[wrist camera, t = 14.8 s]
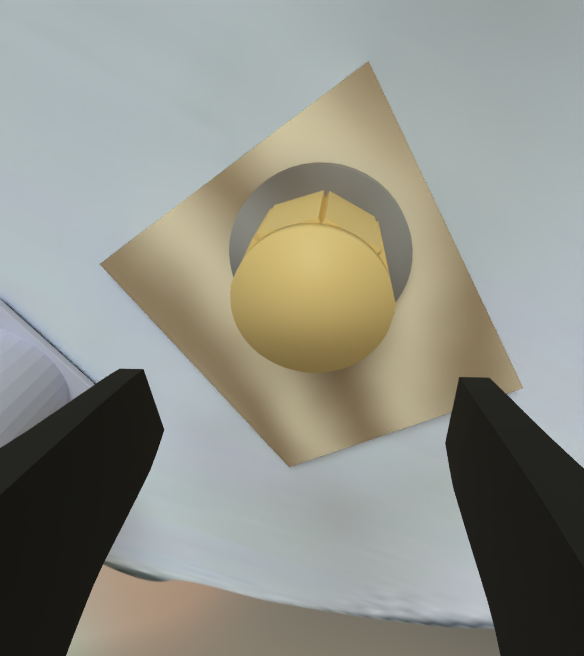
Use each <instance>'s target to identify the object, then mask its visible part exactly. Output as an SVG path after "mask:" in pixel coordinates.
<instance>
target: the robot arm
mask: <svg viewBox="0 0 584 656" xmlns="http://www.w3.org/2000/svg"><path fill="white" fill-rule="evenodd" d="M163 432H164V428H163V425H162V422H161V419H160V416H159V413H158V410H157V407H156V404H155V401H154V398H153V396H152V393H151V390H150V387H149V384H148V381H147V378H146V375H145V372H144V369H119V370H117V371H115V372H114V373H112V374H110V375H109V376H107V377H106V378H104V379H102V380H101V381H99V382H98V383H96V384H94V383H93V382H92V381H91V380H89V379H88V378H87V377H86V376H85V375H84V374H83V373H82V372H81V371H79V370H78V369H77V368H76V367H75V366H74V365H73V364H72V363H71V362H69V361H68V360H67V359H66V358H65V357H64V356H63V355H62V354H61V353H59V352H58V351H57V350H56V349H55V348H54V347H53V346H52V345H51V344H49V343H48V342H47V341H46V340H45V339H44V338H43V337H42V336H41V335H39V334H38V333H37V332H36V331H35V330H34V329H33V328H32V327H31V326H29V325H28V324H27V323H26V322H25V321H24V320H23V319H22V318H21V317H19V316H18V315H17V314H16V313H15V312H14V311H13V310H12V309H11V308H9V307H8V306H7V305H6V304H5V303H4V302H3V301H2V300H0V656H66V654H67V651H68V648H69V646H70V643H71V641H72V638H73V635H74V633H75V630H76V628H77V625H78V623H79V620H80V618H81V615H82V613H83V610H84V608H85V605H86V602H87V600H88V597H89V595H90V592H91V590H92V587H93V585H94V583H95V581H96V579H97V576H98V574H99V572H100V570H101V568H102V565H103V563H104V561H105V559H106V557H107V555H108V553H109V551H110V549H111V547H112V545H113V543H114V541H115V539H116V537H117V536H118V534H119V532H120V530H121V528H122V526H123V524H124V522H125V520H126V518H127V516H128V514H129V512H130V510H131V508H132V506H133V504H134V502H135V500H136V498H137V496H138V494H139V492H140V490H141V488H142V486H143V484H144V482H145V480H146V478H147V476H148V473H149V471H150V469H151V467H152V464H153V461H154V459H155V456H156V453H157V450H158V447H159V444H160V441H161V438H162V435H163ZM445 444H446V450H447V456H448V462H449V468H450V473H451V478H452V484H453V488H454V492H455V495H456V499H457V502H458V505H459V509H460V512H461V515H462V519H463V522H464V525H465V529H466V532H467V535H468V539H469V542H470V545H471V548H472V552H473V555H474V558H475V561H476V565H477V568H478V571H479V575H480V578H481V581H482V584H483V588H484V591H485V594H486V597H487V601H488V605H489V608H490V612H491V616H492V620H493V623H494V627H495V631H496V636H497V641H498V646H499V650H500V654H501V656H584V468H583V467H582V466H581V465H579V464H578V463H577V462H576V461H575V460H574V459H573V458H572V457H571V456H570V455H569V454H567V453H566V452H565V451H564V450H563V449H562V448H561V447H560V446H559V445H558V444H557V443H556V442H555V441H554V440H552V439H551V438H550V437H549V436H548V435H547V434H546V433H545V432H544V431H543V430H542V429H541V428H540V427H539V426H538V425H537V424H536V423H535V422H534V421H533V420H532V419H531V418H530V417H529V416H528V415H527V414H526V413H525V412H524V411H523V410H522V409H521V408H520V407H519V406H518V405H517V404H516V403H515V402H514V401H513V400H512V399H511V398H510V397H509V396H508V395H507V394H506V393H505V392H504V391H503V390H502V389H501V388H500V387H499V386H498V385H497V384H496V383H495V382H493V381H492V380H491V379H490V378H485V377H459V380H458V385H457V390H456V394H455V399H454V404H453V409H452V414H451V418H450V423H449V428H448V433H447V437H446V442H445Z"/></svg>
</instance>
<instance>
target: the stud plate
mask: <svg viewBox="0 0 584 656" xmlns="http://www.w3.org/2000/svg"><path fill="white" fill-rule="evenodd" d="M323 190H324V192H325V196H326V197H327V195H328V193H329V191H331V192H333V193H334V194H336V195H338V196H340V197H341V198H343V199H345V200H347V201H348V202H350V203H352V204H354V205H355V206H357V207H359V208H361V209H362V210H364V211H366V212H368V213H369V214H371V215H373V216H375V219H376V222H377V221H378V222H379V227H380V232H381V236H382V241H383V246H384V250H385V255H386V260H387V265H388V269H389V274H390V279H391V284H392V289H393V294H394V298H395V303H396V309H394V311H395V315H394V316H393V318H392V322H391V325H390V328H389V330H388V332H387V334H386V336H385V337H384V339H383V340H382V342H381V343H380V344H379V346H378V347H377V348H376V349H375V350H374V351H373V352H372V353H370V354H369V355H368V356H367V357H365V358H364V359H362V360H361V361H359V362H357V363H355V364H353V365H351V366H349V367H346V368H343V369H340V370H336V371H331V372H323V373H309V372H300V371H295V370H291V369H288V368H284V367H282V366H279V365H277V364H275V363H273V362H271V361H269V360H267V359H266V358H264V357H263V356H262V355H260V354H259V353H258V352H256V351H255V350H254V349H253V348H252V347H251V346H250V345H249V344H248V343H247V342H246V340H245V339H244V338H243V336H242V335H241V333H240V331H239V330H238V328H237V326H236V323H235V321H234V318H233V315H232V310H231V302H230V291H231V287H230V285H231V283H232V281H233V278H234V276H235V273H236V271H237V269H238V267H239V265H240V264H241V262H242V260H243V257H244V255H245V253H246V251H247V249H248V247H249V245H250V243H251V241H252V238H253V237H254V235H255V233H256V232H257V230H258V228H259V227H260V225H261V223H262V222H263V220H264V218H265V217H266V215H267V213H268V212H269V210H270V209H272V208H273V207H274V205H276V204H280V203H283V202H286V201H290V200H293V199H296V198H299V197H303V196H306V195H309V194H313V193H316V192H319V191H323ZM100 265H101V266H102V267H103V268H104V269H105V270H106V271H107V273H108V274H109V275H110V276H111V277H112V278H113V279H114V280H115V281H116V282H117V283H118V284H119V285H120V286H121V287H122V289H123V290H124V291H125V292H126V293H127V294H128V295H129V296H130V297H131V298H132V299H133V300H134V301H135V302H136V304H137V305H138V306H139V307H140V308H141V309H142V310H143V311H144V312H145V313H146V314H147V315H148V316H149V317H150V319H151V320H152V321H153V322H154V323H155V324H156V325H157V326H158V327H159V328H160V329H161V330H162V331H163V332H164V333H165V335H166V336H167V337H168V338H169V339H170V340H171V341H172V342H173V343H174V344H175V345H176V346H177V347H178V348H179V350H180V351H181V352H182V353H183V354H184V355H185V356H186V357H187V358H188V359H189V360H190V361H191V362H192V363H193V365H194V366H195V367H196V368H197V369H198V370H199V371H200V372H201V373H202V374H203V375H204V376H205V377H206V378H207V379H208V381H209V382H210V383H211V384H212V385H213V386H214V387H215V388H216V389H217V390H218V391H219V392H220V393H221V394H222V396H223V397H224V398H225V399H226V400H227V401H228V402H229V403H230V404H231V405H232V406H233V407H234V408H235V409H236V410H237V412H238V413H239V414H240V415H241V416H242V417H243V418H244V419H245V420H246V421H247V422H248V423H249V424H250V425H251V427H252V428H253V429H254V430H255V431H256V432H257V433H258V434H259V435H260V436H261V437H262V438H263V439H264V440H265V442H266V443H267V444H268V445H269V446H270V447H271V448H272V449H273V450H274V451H275V452H276V453H277V454H278V455H279V456H280V458H281V459H282V460H283V461H284V462H285V463H286V464H287V465H288V466H289V467H291V466H294V465H297V464H300V463H302V462H305V461H308V460H311V459H314V458H317V457H320V456H323V455H326V454H329V453H332V452H335V451H338V450H341V449H344V448H347V447H350V446H353V445H356V444H359V443H362V442H365V441H368V440H371V439H374V438H377V437H379V436H382V435H385V434H388V433H391V432H394V431H397V430H400V429H403V428H406V427H409V426H412V425H415V424H418V423H421V422H424V421H427V420H430V419H433V418H436V417H439V416H442V415H445V414H448V413H451V412H452V409H453V404H454V399H455V394H456V390H457V385H458V380H459V377H485V378H490V379H491V380H492V381H493V382H495V383H496V384H497V385H498V386H499V387H500V388H501V389H502V390H503V391H504V392H505V393H506V394H507V393H510V392H513V391H516V390H519V389H522V388H523V387H522V384H521V382H520V380H519V378H518V376H517V374H516V372H515V370H514V368H513V365H512V363H511V361H510V359H509V357H508V355H507V353H506V351H505V349H504V346H503V344H502V342H501V340H500V338H499V336H498V334H497V332H496V330H495V327H494V325H493V323H492V321H491V319H490V317H489V315H488V313H487V311H486V308H485V306H484V304H483V302H482V300H481V298H480V296H479V294H478V292H477V289H476V287H475V285H474V283H473V281H472V279H471V277H470V275H469V273H468V270H467V268H466V266H465V264H464V262H463V260H462V258H461V256H460V254H459V251H458V249H457V247H456V245H455V243H454V241H453V239H452V237H451V235H450V232H449V230H448V228H447V226H446V224H445V222H444V220H443V218H442V215H441V213H440V211H439V209H438V207H437V205H436V203H435V201H434V199H433V196H432V194H431V192H430V190H429V188H428V186H427V184H426V182H425V180H424V177H423V175H422V173H421V171H420V169H419V167H418V165H417V163H416V161H415V158H414V156H413V154H412V152H411V150H410V148H409V146H408V144H407V142H406V139H405V137H404V135H403V133H402V131H401V129H400V127H399V125H398V123H397V120H396V118H395V116H394V114H393V112H392V110H391V108H390V106H389V104H388V101H387V99H386V97H385V95H384V93H383V91H382V89H381V87H380V85H379V82H378V80H377V78H376V76H375V74H374V72H373V70H372V68H371V66H370V63H369V61H368V62H367V63H366V64H364V65H363V66H362V67H360V68H359V69H358V70H356V71H355V72H354V73H352V74H351V75H350V76H348V77H347V78H346V79H344V80H343V81H342V82H340V83H339V84H338V85H336V86H335V87H334V88H332V89H331V90H330V91H328V92H327V93H326V94H324V95H323V96H322V97H320V98H319V99H318V100H317V101H315V102H314V103H313V104H311V105H310V106H309V107H307V108H306V109H305V110H303V111H302V112H301V113H299V114H298V115H297V116H295V117H294V118H293V119H291V120H290V121H289V122H287V123H286V124H285V125H283V126H282V127H281V128H279V129H278V130H277V131H275V132H274V133H273V134H271V135H270V136H269V137H267V138H266V139H265V140H263V141H262V142H261V143H260V144H258V145H257V146H256V147H254V148H253V149H252V150H250V151H249V152H248V153H246V154H245V155H244V156H242V157H241V158H240V159H238V160H237V161H236V162H234V163H233V164H232V165H230V166H229V167H228V168H226V169H225V170H224V171H222V172H221V173H220V174H218V175H217V176H216V177H214V178H213V179H212V180H210V181H209V182H208V183H206V184H205V185H204V186H202V187H201V188H200V189H199V190H197V191H196V192H195V193H193V194H192V195H191V196H189V197H188V198H187V199H185V200H184V201H183V202H181V203H180V204H179V205H177V206H176V207H175V208H173V209H172V210H171V211H169V212H168V213H167V214H165V215H164V216H163V217H161V218H160V219H159V220H157V221H156V222H155V223H153V224H152V225H151V226H149V227H148V228H147V229H145V230H144V231H143V232H142V233H140V234H139V235H138V236H136V237H135V238H134V239H132V240H131V241H130V242H128V243H127V244H126V245H124V246H123V247H122V248H120V249H119V250H118V251H116V252H115V253H114V254H112V255H111V256H110V257H108V258H107V259H106V260H104V261H103V262H102V263H100Z"/></svg>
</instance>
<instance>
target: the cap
mask: <svg viewBox="0 0 584 656" xmlns="http://www.w3.org/2000/svg"><path fill="white" fill-rule="evenodd" d="M230 287H231V291H230V302H231V310H232V315H233V318H234V321H235V323H236V326H237V328H238V330H239V331H240V333H241V335H242V336H243V338H244V339H245V340H246V342H247V343H248V344H249V345H250V346H251V347H252V348H253V349H254V350H255V351H256V352H258V353H259V354H260V355H262V356H263V357H264V358H266V359H267V360H269V361H271V362H273V363H275V364H277V365H279V366H282V367H284V368H288V369H291V370H295V371H300V372H309V373H323V372H331V371H336V370H340V369H343V368H346V367H349V366H351V365H353V364H355V363H357V362H359V361H361V360H362V359H364V358H365V357H367V356H368V355H369V354H370V353H372V352H373V351H374V350H375V349H376V348H377V347H378V346H379V344H380V343H381V342H382V340H383V339H384V337H385V336H386V334H387V332H388V330H389V328H390V325H391V322H392V318H393V316H394V315H395V311H394V309H396V303H395V298H394V294H393V289H392V284H391V279H390V274H389V269H388V265H387V260H386V255H385V250H384V246H383V241H382V236H381V232H380V227H379V222H378V221H377V222H376V219H375V216H373V215H371V214H369V213H368V212H366V211H364V210H362V209H361V208H359V207H357V206H355V205H354V204H352V203H350V202H348V201H347V200H345V199H343V198H341V197H340V196H338V195H336V194H334V193H333V192H331V191H329V193H328V195H327V197H326V196H325V192H324V190H323V191H319V192H316V193H313V194H309V195H306V196H303V197H299V198H296V199H293V200H290V201H286V202H283V203H280V204H276V205H274V207H273V208H272V209H270V210H269V212H268V213H267V215H266V217H265V218H264V220H263V222H262V223H261V225H260V227H259V228H258V230H257V232H256V233H255V235H254V237H253V238H252V241H251V243H250V245H249V247H248V249H247V251H246V253H245V255H244V257H243V260H242V262H241V264H240V265H239V267H238V269H237V271H236V273H235V276H234V278H233V281H232V283H231V285H230Z"/></svg>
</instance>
